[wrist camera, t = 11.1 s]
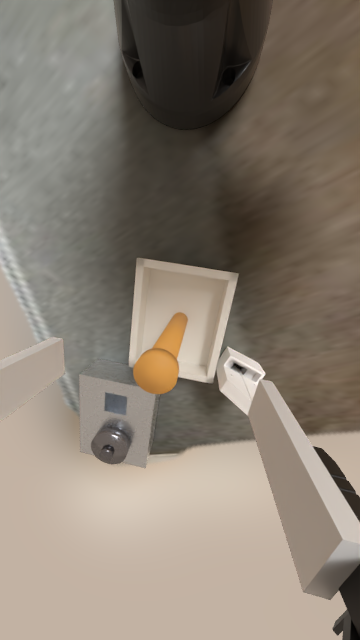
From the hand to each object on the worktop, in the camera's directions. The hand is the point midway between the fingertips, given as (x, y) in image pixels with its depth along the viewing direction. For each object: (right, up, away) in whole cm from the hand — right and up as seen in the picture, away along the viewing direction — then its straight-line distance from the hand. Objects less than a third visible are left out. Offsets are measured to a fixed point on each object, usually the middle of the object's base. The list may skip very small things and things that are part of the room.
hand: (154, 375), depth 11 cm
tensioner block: (-8, -12, +21) cm, 26 cm away
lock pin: (+2, +4, +15) cm, 16 cm away
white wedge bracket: (+11, -3, +17) cm, 20 cm away
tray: (+2, +4, +16) cm, 16 cm away
